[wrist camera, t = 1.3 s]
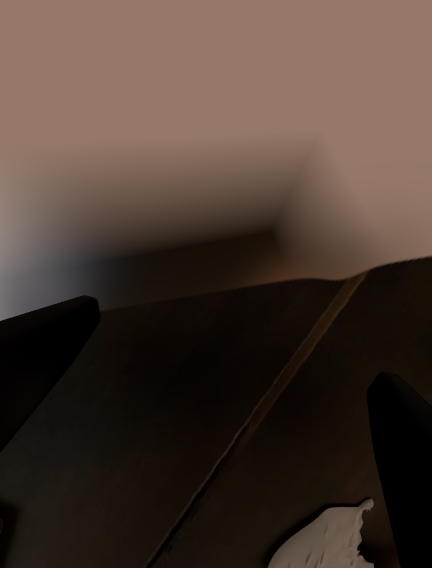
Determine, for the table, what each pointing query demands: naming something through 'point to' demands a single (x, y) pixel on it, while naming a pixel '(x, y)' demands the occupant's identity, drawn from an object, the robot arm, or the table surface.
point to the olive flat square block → (1, 525)
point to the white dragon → (326, 541)
